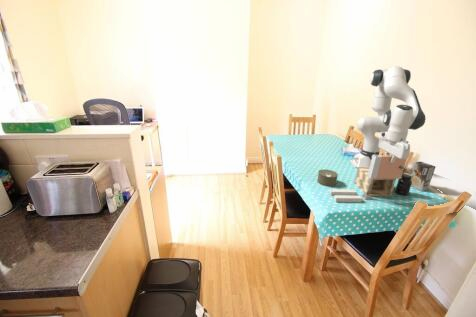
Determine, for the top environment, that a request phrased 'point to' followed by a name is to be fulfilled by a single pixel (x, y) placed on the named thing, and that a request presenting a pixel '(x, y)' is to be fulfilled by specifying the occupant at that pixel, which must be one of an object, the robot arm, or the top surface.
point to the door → (386, 167)
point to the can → (327, 178)
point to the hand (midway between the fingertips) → (389, 161)
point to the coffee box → (422, 175)
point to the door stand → (345, 195)
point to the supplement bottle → (403, 185)
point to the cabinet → (373, 184)
